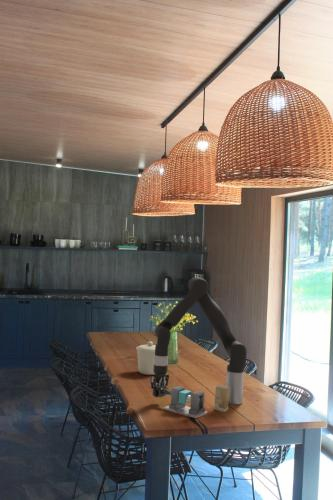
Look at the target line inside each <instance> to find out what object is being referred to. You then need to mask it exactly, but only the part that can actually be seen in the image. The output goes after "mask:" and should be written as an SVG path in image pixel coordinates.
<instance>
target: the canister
mask: <svg viewBox="0 0 333 500" xmlns="http://www.w3.org/2000/svg"><path fill="white" fill-rule="evenodd" d="M153 343H154V342H153V341H150V340H149V341H147V344H141V345H138V346H136V348H135V349H136V354H137V368H138V372H139V373H140V374H141V375H147V376H155V373H154V372H153V368H154V357H155V346H156V345H157V344H156V345H155V344H153Z"/></svg>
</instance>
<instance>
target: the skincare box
mask: <svg viewBox="0 0 333 500" xmlns="http://www.w3.org/2000/svg"><path fill="white" fill-rule="evenodd" d="M229 390H230V387H226V385H222V384H219V385H216V386H215V395H214V408H213V409H214V410H216V411H219V412H224V413H225V412H227V411H228V410H229V403H228V402H229Z"/></svg>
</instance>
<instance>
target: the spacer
mask: <svg viewBox="0 0 333 500" xmlns="http://www.w3.org/2000/svg"><path fill="white" fill-rule="evenodd" d="M192 392H193V391H191V390H187V389H185V390H183V391H180V392H179V399H178V403H181V404H185V405H187V402H188V403H191V402H190V401H186V396H188V395H189V396H191V393H192Z"/></svg>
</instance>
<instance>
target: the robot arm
mask: <svg viewBox="0 0 333 500" xmlns="http://www.w3.org/2000/svg"><path fill="white" fill-rule="evenodd" d="M187 285H188V287H187V288H188V290H189V291H188V292H187V294H186V295H185V297H183V299H182V300H180V301H179V302H178V303H177V304H176V305H175V306H174V307H173V308H172V309H171V311H169V313H168V314H167V316H166V317H165V318H164V319H163V320H162V321H161V322H160V323H159V324H158V325H157V327H155V330H154V334H155V337H156V338H157V339H156V341H157V342H156V346H155V357H154V368H153V372H154V373H155V374H154V375H153V377H150V380H149V381H150V388H151V389H152V390H153V389H154V396H153V397H154V398H159V397H158V388H159V386H160V385H163V386H166V387H168V385H169V379H170V374H167V373H168V366H169V345H170V342H171V330H172V329H173V328H174V327H176V326H177V325H178V324H179V323H180V322H181V321H182V319H183V318H184V316H186V315H187V312H188V311H189V310H190V309H191V308H192V307H193V306H194V305H195V304H196V302H197V303H198V304H199V306H200V308H201V310H202V312H203V313H204V315H205V316H206V319H207V321H208V322H209V324H210V326H211V328H212V329H213V331H214V332H215V334H216V335H217V336H218V338H219V339H220V341H221V343H222V346H223V348H224V350H225V352H226V354H227V355H228V356H229V357H230V359H229V364H228V365H227V366H226V382H225V386H226V387H230V390H229V402H228V405H241V404H242V403H243V394H244V393H243V392H244V375H245V374H244V372H245V368H246V363H247V362H246V361H247V348H246V346H245V345H244V344H243V343H241V342H239V341H238V339H236V337H235V335H234V334H233V333H232V331H231V328H230V325H229V321H228V319H227V317H226V315H225V313H224V311H223V310H222V309H221V307H220V306H219V305H218V304H217V303H216V301H214V299H212V297H211V296H210V294H209V292H208V290H209V284H208V282H207V280H205V279H204V278H200V277H193V278H191V279H190V280H188V284H187ZM156 385H157V387H156ZM153 386H154V387H153Z"/></svg>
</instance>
